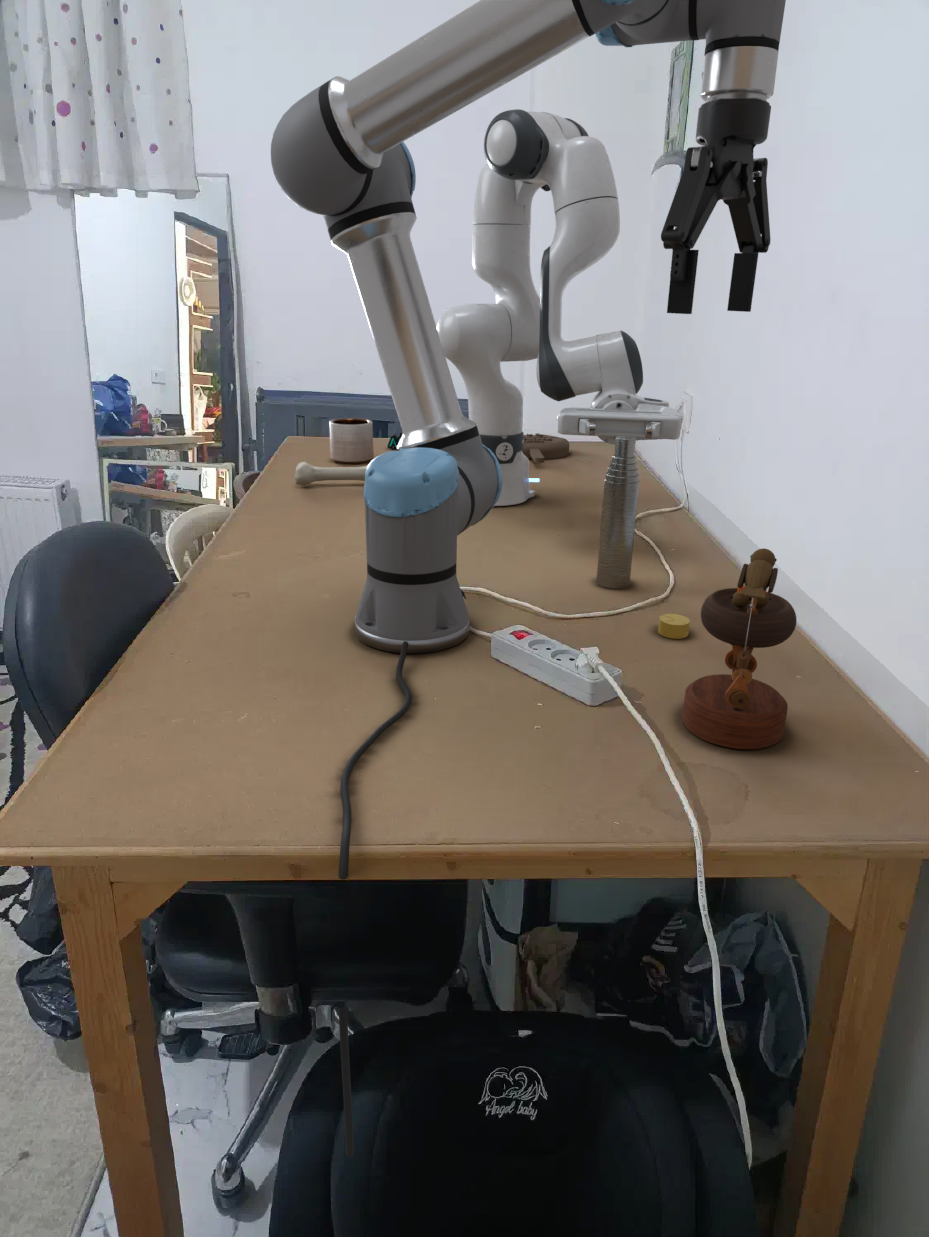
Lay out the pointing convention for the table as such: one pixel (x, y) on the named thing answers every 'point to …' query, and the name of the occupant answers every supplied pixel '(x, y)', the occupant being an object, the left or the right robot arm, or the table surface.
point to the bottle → (618, 516)
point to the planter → (351, 440)
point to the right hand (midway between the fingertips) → (620, 431)
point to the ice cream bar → (544, 447)
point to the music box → (742, 662)
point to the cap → (673, 626)
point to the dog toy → (327, 473)
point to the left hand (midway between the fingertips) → (710, 312)
